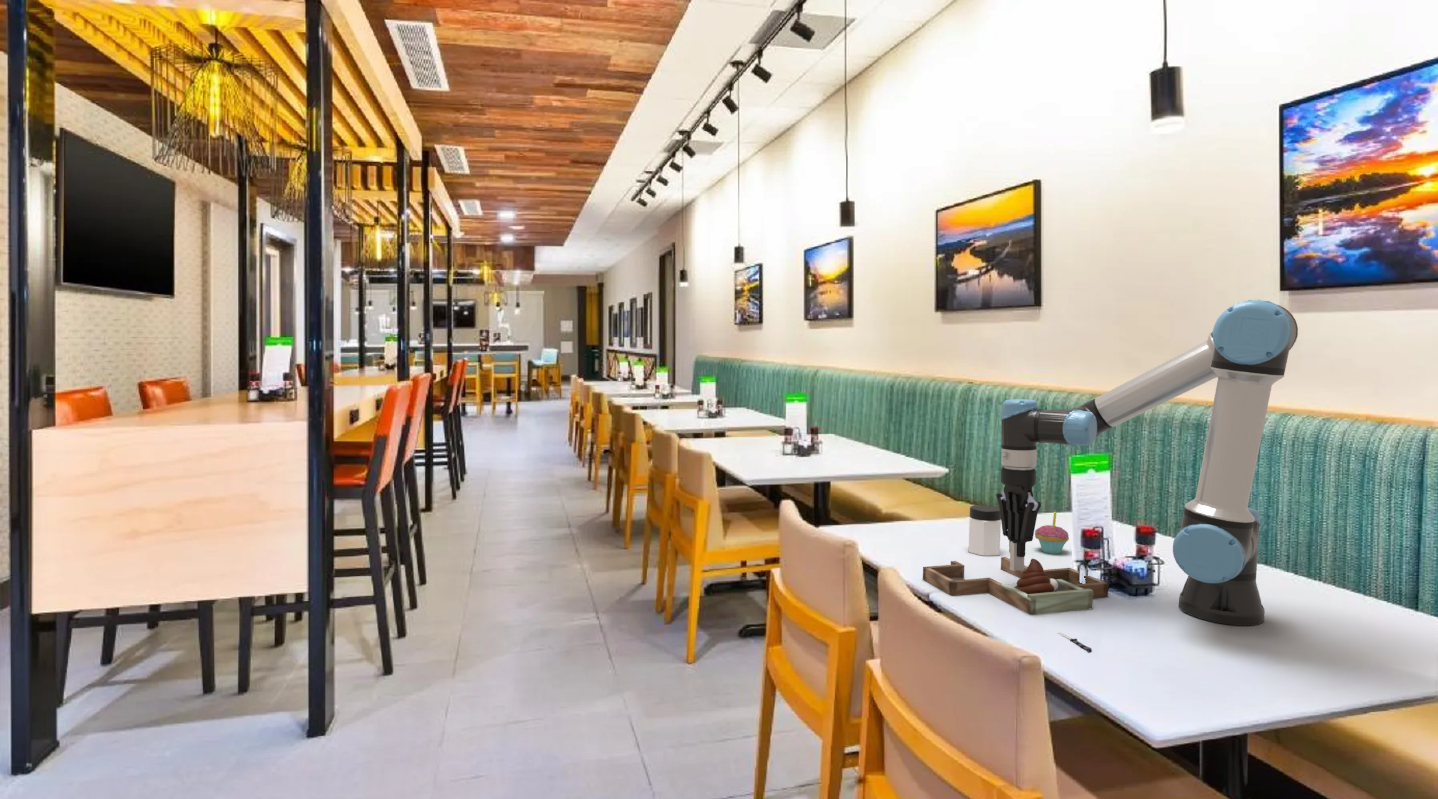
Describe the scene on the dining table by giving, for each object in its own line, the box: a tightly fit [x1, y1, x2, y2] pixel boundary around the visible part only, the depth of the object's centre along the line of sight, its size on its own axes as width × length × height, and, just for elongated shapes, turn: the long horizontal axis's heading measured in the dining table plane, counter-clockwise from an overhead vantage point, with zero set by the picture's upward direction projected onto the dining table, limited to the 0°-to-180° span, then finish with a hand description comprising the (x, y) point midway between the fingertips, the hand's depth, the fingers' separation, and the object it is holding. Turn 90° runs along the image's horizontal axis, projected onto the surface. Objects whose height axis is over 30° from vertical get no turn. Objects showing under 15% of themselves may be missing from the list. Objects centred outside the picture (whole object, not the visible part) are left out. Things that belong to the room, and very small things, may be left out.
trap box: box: [922, 556, 1110, 616], centre depth 178 cm, size 30×34×4 cm
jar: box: [968, 504, 1002, 557], centre depth 210 cm, size 9×8×12 cm
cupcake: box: [1034, 509, 1070, 555], centre depth 211 cm, size 9×8×12 cm
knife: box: [1057, 632, 1093, 653], centre depth 152 cm, size 19×2×1 cm, turn 17°
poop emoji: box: [1013, 558, 1058, 594], centre depth 170 cm, size 10×8×9 cm
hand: (1016, 569), depth 178 cm, fingers closed
